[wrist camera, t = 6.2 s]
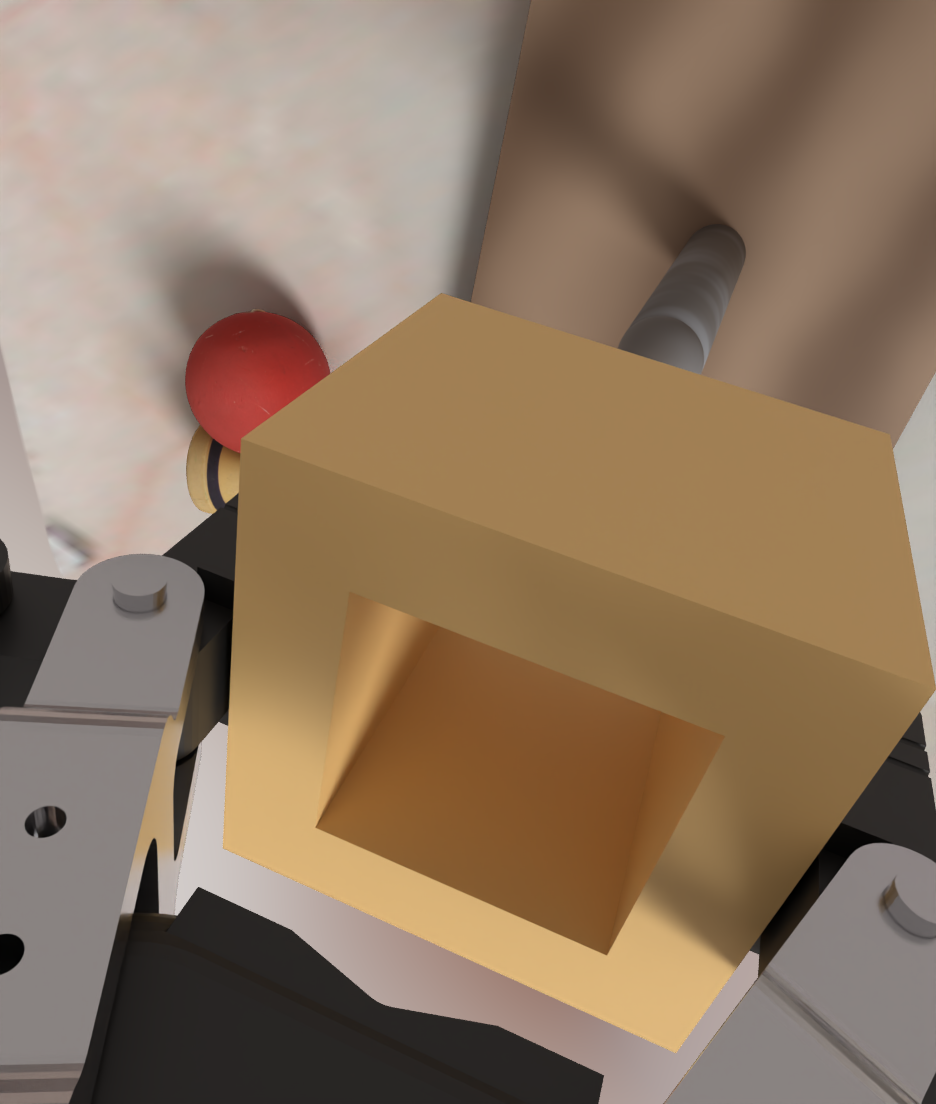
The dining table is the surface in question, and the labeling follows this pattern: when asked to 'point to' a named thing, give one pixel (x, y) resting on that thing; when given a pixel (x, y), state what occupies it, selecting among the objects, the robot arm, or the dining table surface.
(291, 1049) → the robot arm
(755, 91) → the needle stand
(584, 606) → the tan hollow square block
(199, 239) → the dining table surface
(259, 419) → the kendama
